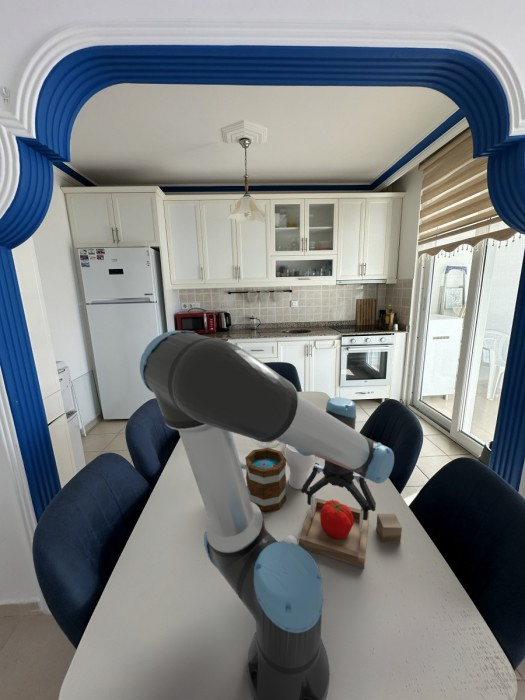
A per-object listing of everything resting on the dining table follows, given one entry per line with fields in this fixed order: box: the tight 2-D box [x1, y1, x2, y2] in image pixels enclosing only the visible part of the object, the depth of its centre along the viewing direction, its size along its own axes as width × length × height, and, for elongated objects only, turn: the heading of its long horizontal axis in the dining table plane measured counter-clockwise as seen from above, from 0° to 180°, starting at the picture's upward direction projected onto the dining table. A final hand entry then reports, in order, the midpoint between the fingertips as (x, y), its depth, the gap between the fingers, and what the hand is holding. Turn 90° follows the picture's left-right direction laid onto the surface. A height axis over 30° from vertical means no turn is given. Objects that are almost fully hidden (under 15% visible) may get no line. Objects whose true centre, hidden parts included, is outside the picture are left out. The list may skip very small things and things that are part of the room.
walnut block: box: [375, 513, 403, 544], centre depth 85 cm, size 5×5×5 cm
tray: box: [298, 497, 370, 570], centre depth 86 cm, size 17×17×3 cm
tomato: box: [320, 499, 354, 539], centre depth 86 cm, size 9×10×8 cm
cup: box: [284, 444, 316, 490], centre depth 107 cm, size 11×11×15 cm
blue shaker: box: [282, 534, 299, 545], centre depth 76 cm, size 4×4×9 cm
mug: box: [240, 447, 287, 514], centre depth 100 cm, size 20×14×15 cm
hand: (336, 520), depth 86 cm, fingers open, 13 cm apart
